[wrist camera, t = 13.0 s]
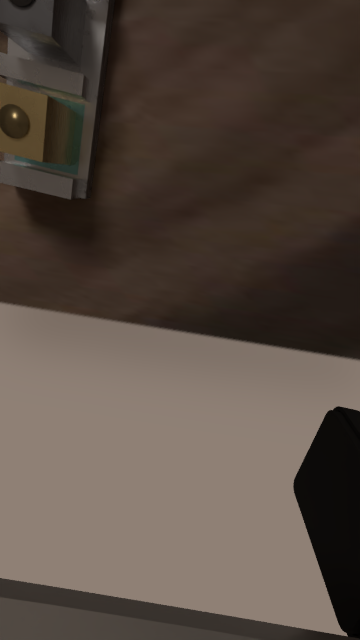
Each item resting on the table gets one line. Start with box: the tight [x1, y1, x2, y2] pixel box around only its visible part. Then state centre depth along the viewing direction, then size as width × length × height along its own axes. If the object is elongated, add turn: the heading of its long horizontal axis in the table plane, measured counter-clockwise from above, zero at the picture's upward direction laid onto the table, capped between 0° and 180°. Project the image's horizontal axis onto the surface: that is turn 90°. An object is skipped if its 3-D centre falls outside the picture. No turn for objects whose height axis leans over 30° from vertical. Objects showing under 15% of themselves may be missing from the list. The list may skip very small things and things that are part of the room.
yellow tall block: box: [0, 83, 76, 165], centre depth 29 cm, size 4×4×7 cm
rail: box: [0, 0, 115, 200], centre depth 29 cm, size 8×26×5 cm, turn 167°
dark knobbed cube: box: [0, 0, 87, 67], centre depth 26 cm, size 4×4×7 cm
